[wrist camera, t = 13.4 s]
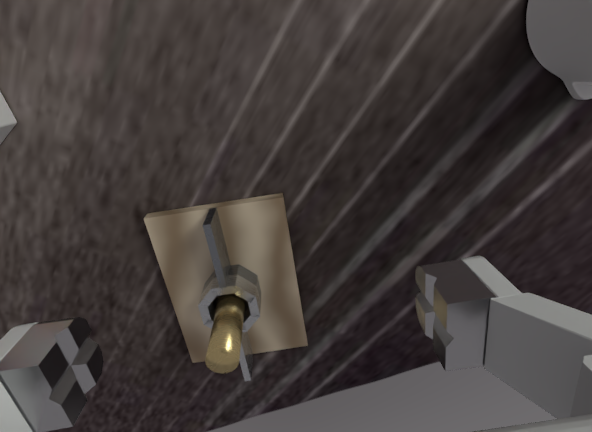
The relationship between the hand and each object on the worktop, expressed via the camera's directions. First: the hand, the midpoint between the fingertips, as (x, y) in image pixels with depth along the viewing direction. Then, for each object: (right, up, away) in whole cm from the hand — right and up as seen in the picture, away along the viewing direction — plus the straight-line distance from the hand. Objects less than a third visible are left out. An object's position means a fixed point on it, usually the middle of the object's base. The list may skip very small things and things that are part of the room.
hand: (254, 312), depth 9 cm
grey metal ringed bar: (-7, -7, +37) cm, 38 cm away
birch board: (-7, -6, +38) cm, 39 cm away
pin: (-7, -7, +37) cm, 38 cm away
